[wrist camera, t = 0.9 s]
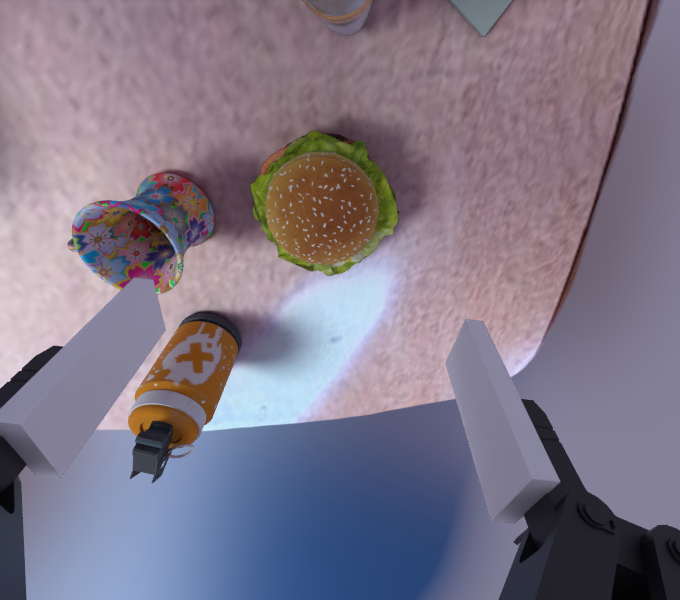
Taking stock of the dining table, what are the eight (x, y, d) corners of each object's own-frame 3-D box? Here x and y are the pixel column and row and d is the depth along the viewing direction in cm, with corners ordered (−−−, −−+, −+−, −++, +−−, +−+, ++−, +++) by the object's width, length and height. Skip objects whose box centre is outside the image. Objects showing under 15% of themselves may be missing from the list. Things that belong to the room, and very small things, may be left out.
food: (304, 270, 42) (295, 308, 36) (240, 164, 35) (213, 189, 28) (408, 229, 38) (419, 263, 32) (361, 100, 31) (362, 111, 24)
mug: (206, 163, 35) (157, 198, 26) (230, 244, 40) (196, 294, 32) (98, 170, 36) (17, 206, 27) (136, 248, 41) (77, 298, 32)
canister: (248, 322, 47) (193, 458, 31) (233, 370, 54) (181, 504, 37) (185, 302, 46) (91, 435, 30) (177, 354, 52) (96, 487, 36)
